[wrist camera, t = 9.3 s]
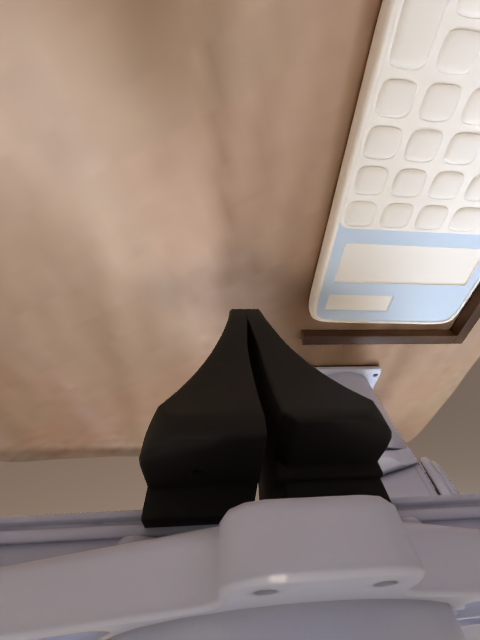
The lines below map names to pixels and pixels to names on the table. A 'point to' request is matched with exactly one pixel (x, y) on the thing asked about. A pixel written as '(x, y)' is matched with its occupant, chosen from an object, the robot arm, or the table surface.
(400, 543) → the robot arm
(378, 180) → the calculator
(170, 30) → the table surface
